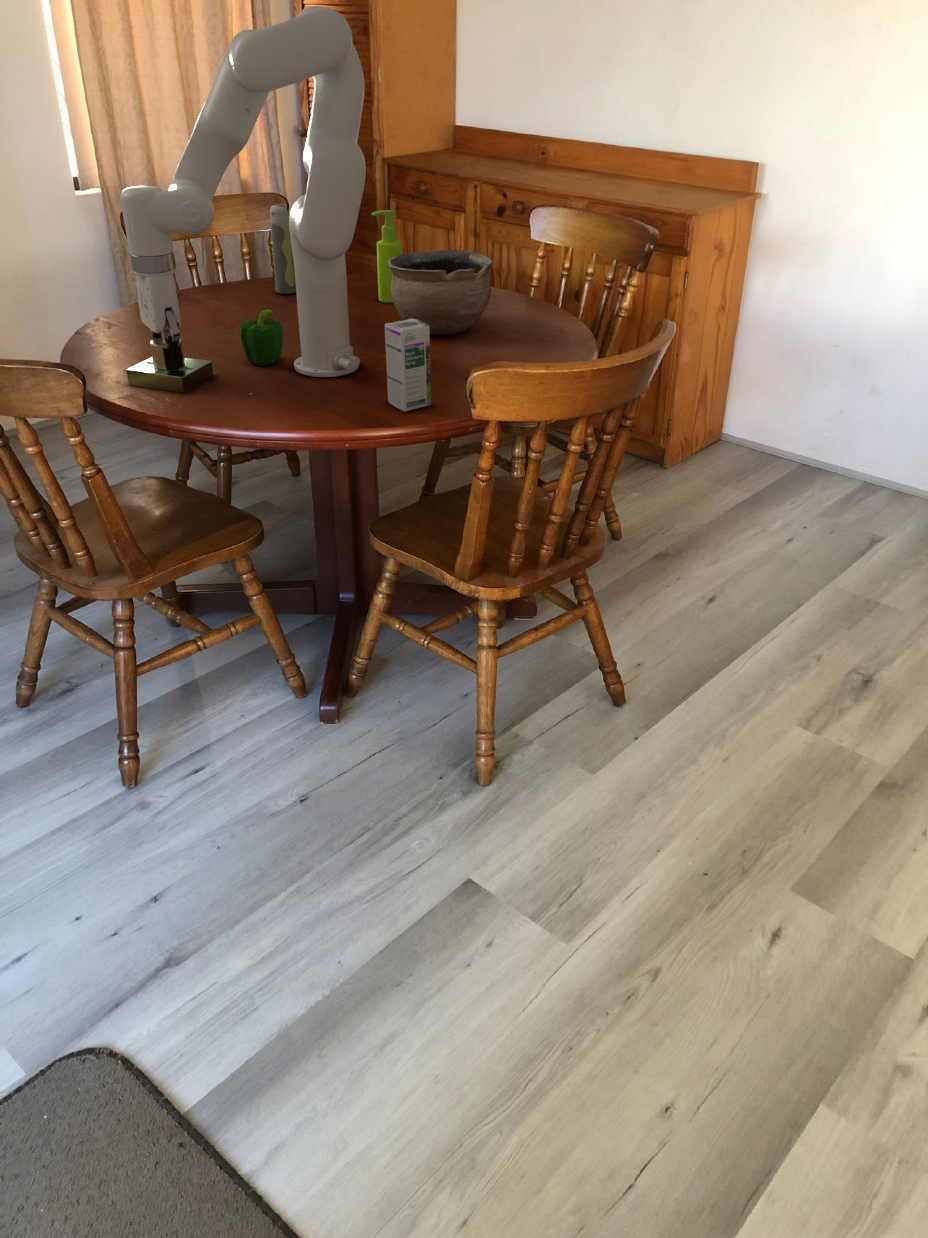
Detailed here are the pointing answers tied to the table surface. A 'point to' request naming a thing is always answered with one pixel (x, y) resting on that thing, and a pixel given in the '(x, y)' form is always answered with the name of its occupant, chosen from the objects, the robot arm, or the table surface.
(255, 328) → the bell pepper
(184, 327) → the table surface
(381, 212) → the soap dispenser
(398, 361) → the syrup box
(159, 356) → the dial
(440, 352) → the table surface
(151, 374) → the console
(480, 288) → the ceramic bowl
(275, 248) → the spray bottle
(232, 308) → the table surface
